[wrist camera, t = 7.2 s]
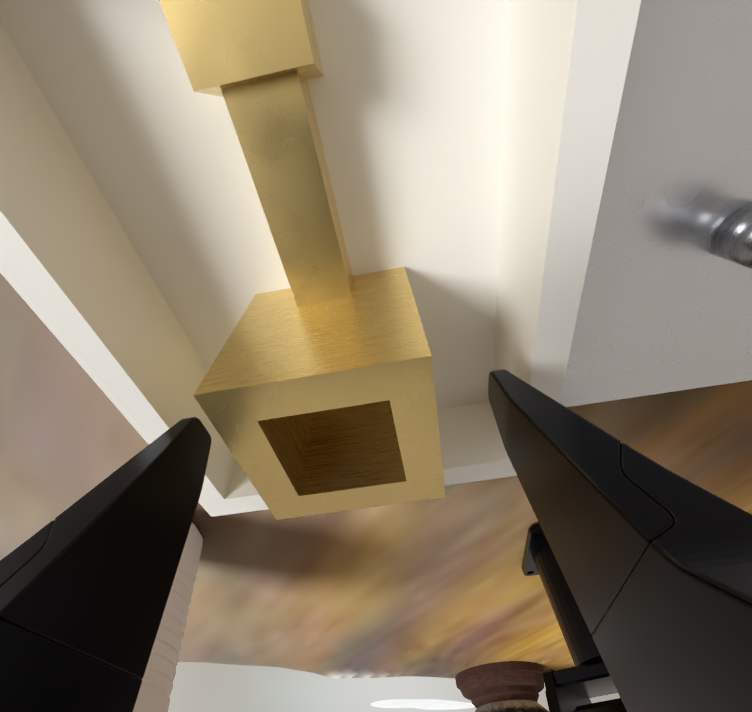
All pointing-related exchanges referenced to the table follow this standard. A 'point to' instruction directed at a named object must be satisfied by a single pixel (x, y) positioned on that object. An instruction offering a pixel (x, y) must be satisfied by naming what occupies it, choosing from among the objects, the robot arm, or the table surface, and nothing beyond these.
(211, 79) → the strut
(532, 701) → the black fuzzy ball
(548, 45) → the bin
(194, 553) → the cup
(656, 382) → the stud plate
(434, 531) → the table surface
